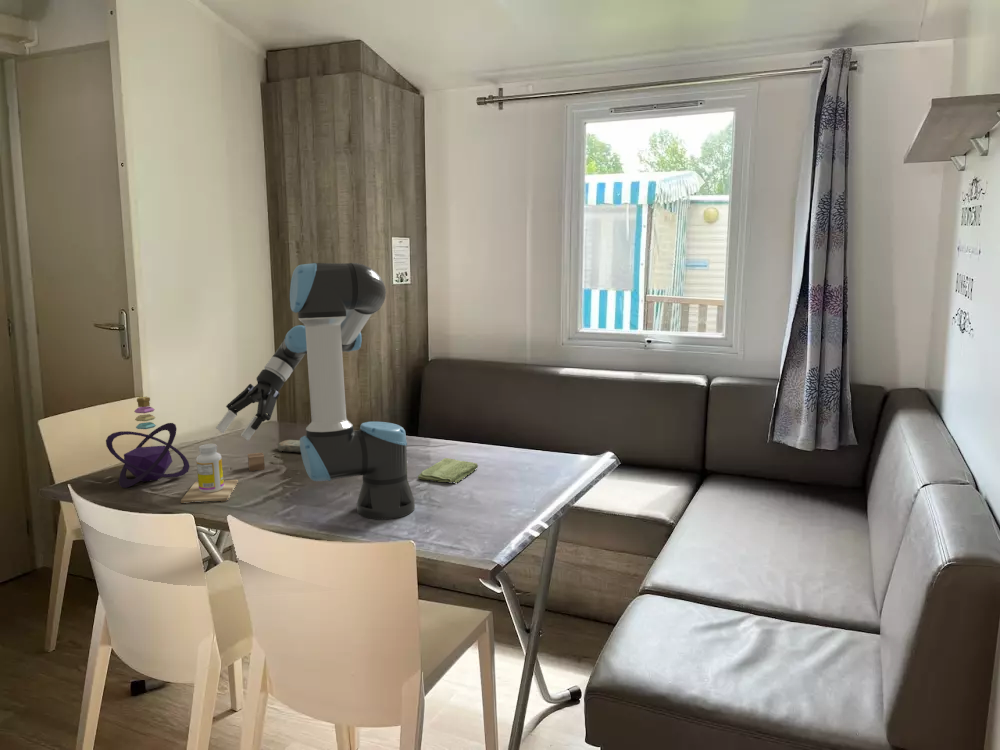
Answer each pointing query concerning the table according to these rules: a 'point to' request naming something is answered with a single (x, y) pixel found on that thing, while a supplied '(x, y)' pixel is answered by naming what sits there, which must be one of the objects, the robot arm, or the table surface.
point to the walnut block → (256, 461)
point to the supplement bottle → (209, 469)
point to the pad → (220, 495)
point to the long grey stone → (289, 446)
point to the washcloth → (448, 471)
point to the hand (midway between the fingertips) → (231, 434)
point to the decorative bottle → (147, 451)
